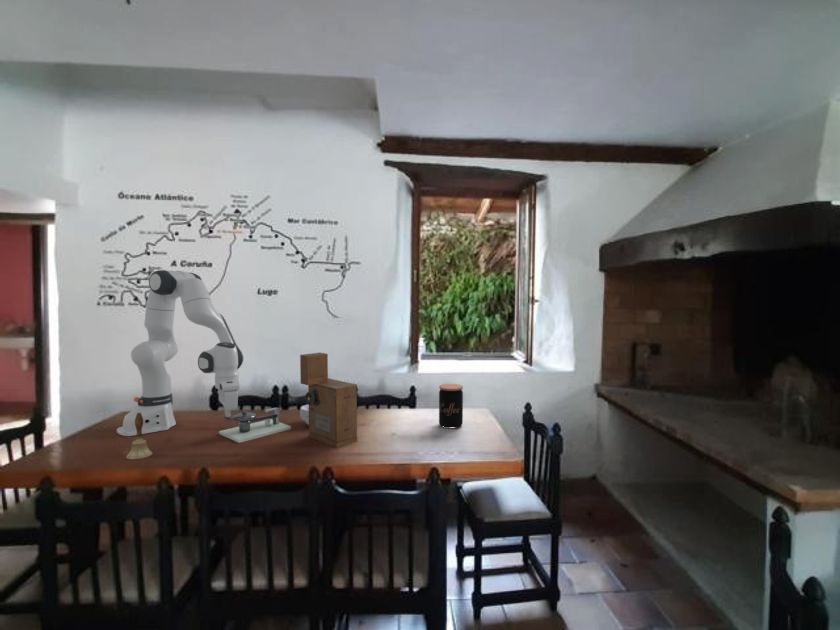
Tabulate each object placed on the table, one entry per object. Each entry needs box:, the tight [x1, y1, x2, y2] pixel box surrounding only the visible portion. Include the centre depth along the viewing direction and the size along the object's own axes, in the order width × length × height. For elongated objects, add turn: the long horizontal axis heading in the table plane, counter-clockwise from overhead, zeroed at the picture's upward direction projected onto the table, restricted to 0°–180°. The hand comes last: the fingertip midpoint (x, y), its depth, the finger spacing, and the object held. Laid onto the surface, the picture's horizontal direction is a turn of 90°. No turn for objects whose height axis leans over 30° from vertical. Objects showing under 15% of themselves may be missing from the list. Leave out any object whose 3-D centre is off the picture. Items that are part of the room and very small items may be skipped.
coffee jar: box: [438, 383, 464, 428], centre depth 205 cm, size 11×11×18 cm
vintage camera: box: [299, 352, 358, 449], centre depth 184 cm, size 19×14×35 cm
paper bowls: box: [299, 404, 309, 426], centre depth 208 cm, size 15×15×8 cm
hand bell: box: [126, 413, 153, 461], centre depth 167 cm, size 8×8×16 cm
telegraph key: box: [223, 409, 277, 432], centre depth 194 cm, size 22×9×12 cm, turn 129°
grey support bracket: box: [264, 406, 281, 426], centre depth 202 cm, size 6×2×7 cm, turn 139°
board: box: [218, 410, 292, 444], centre depth 196 cm, size 24×17×10 cm
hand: (227, 416), depth 185 cm, fingers closed
